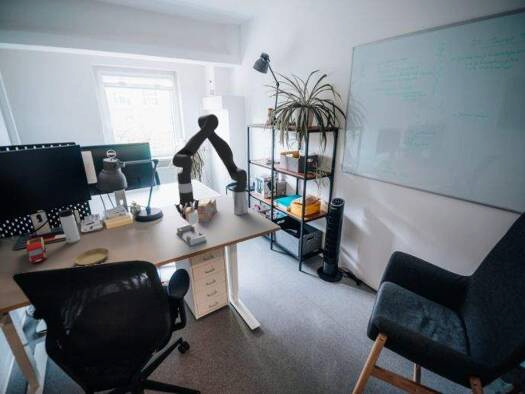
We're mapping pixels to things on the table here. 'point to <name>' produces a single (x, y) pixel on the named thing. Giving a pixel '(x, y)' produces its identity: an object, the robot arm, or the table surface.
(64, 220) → the travel mug
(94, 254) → the plant saucer
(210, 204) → the stack of blocks
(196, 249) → the table surface
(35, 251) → the toy truck
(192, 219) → the peach lotion tube
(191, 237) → the cradle jig
